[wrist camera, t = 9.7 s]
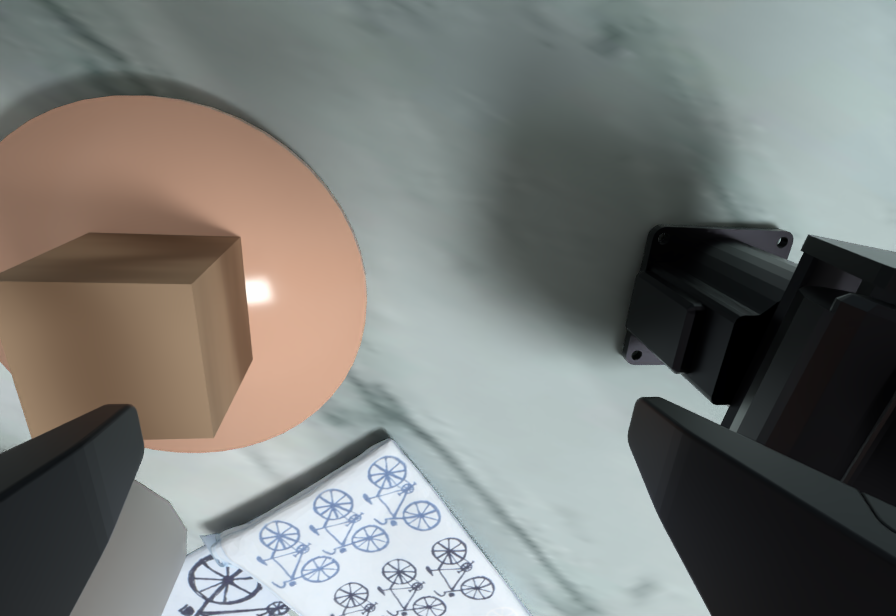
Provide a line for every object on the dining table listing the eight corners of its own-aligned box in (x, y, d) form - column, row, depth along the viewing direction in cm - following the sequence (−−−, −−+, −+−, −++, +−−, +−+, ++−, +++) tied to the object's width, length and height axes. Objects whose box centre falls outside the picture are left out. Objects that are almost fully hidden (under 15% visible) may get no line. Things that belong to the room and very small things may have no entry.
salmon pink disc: (367, 109, 18) (366, 110, 17) (367, 429, 23) (366, 448, 22) (-70, 80, 16) (-109, 78, 15) (39, 436, 21) (17, 457, 20)
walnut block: (240, 236, 18) (191, 284, 13) (253, 359, 20) (213, 438, 15) (89, 232, 17) (-18, 281, 13) (117, 359, 19) (33, 442, 14)
